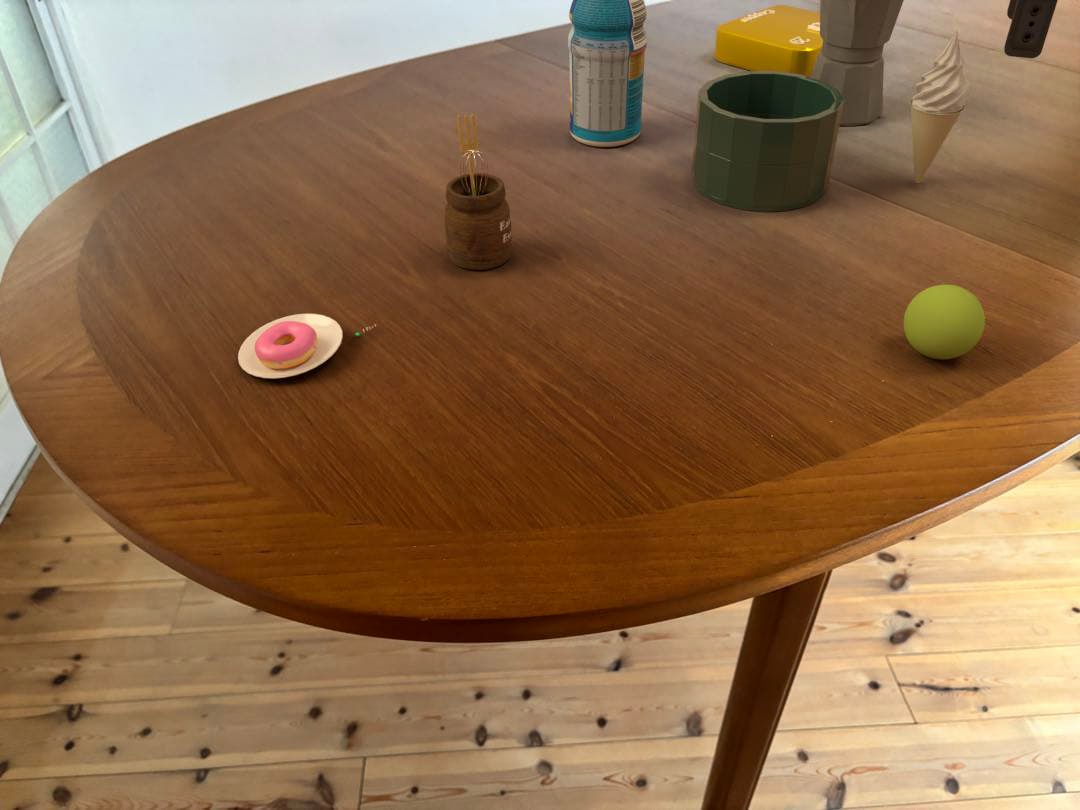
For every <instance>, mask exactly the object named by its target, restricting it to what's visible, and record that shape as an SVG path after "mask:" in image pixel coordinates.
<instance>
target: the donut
mask: <svg viewBox="0 0 1080 810" xmlns="http://www.w3.org/2000/svg"><path fill="white" fill-rule="evenodd" d="M374 327H377V324H376V323H374V326H373V325H372V326H368V327H365V328H366V331H367V332H369V330H371V331H372V329H374ZM362 331H363V334H364V333H366V331H365V329H364V328H363V329H362ZM343 334H344V333H343V329H342V326H341V325H340V324H339V323H338V322H337V321H336V320H335V319H333V318H332V317H329V316H327V315H323V314H318V313H298V314H293V315H292V314H291V315H287V316H284V317H281V318H277V319H274V320H272V321H270V322H267V323H266V324H264V325H262V326H261V327H258V328H257V329H256V330H254V331H253V332H252V333H251V334H250V335H249V336H248V337H246V338H245V340H244V341H243V342H242V344H241V345H240V347H239V350H238V354H237V361H238V365H239V366H240V368H241V369H242V370H243V371H245V372H246V373H247V374H249V375H251V376H254V377H257V378H262V379H273V380H274V379H284V378H289V377H295V376H298V375H301V374H304V373H307V372H309V371H311V370H314V369H315V368H317V367H319V366H321V365H322V364H323V363H325V362H327V360H329V359H330V358H332V357H333V355H334V354H335V353H337V351H338V349H339V347H340V346H341V345H342V342H343ZM354 335H355V337H360V333H359V332H355V334H354Z"/></svg>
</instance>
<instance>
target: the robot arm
mask: <svg viewBox="0 0 1080 810" xmlns="http://www.w3.org/2000/svg"><path fill="white" fill-rule="evenodd" d="M1058 1H1059V0H1009V3H1008V6H1007V10H1006V15H1007V18H1008V19H1010V20H1011V22H1010V25H1009V27H1008V31H1007V32H1008V33H1007V35H1006V39H1005V42H1004V46H1003V47H1004V49H1003V50H1004V51H1003V52H1004V54H1005V55H1006V56H1008V57H1013V58H1014V57H1015V58H1022V59H1023V58H1024V59H1035V58H1038V57H1039V56H1040V55H1041V54H1042V52H1043V49H1044V45H1045V43H1046V39H1047V36H1048V33H1049V31H1050V28H1051V27H1050V26H1051V23H1052V21H1053V18H1054V14H1055V11H1056V8H1057V4H1058Z"/></svg>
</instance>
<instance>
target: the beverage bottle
mask: <svg viewBox="0 0 1080 810" xmlns="http://www.w3.org/2000/svg"><path fill="white" fill-rule="evenodd" d="M647 12H648V11H647V7H646V3H645V0H572V1H571V5H570V8H569V13H568V19H569V21H570V22H571V29H570V30H569V33H568V36H567V37H568V38H567V47H568V51H569V52H568V53H569V133H570V135H571V137H572V138H573V139H575V141H577V142H579V143H581V144H584V145H587V146H591V147H599V148H612V147H619V146H624V145H627V144H629V143H632V142H634V141H635V140H637V139H638V138H639V137H640V135H641V132H642V109H643V92H644V91H643V90H644V74H645V73H644V70H645V54H646V49H647V44H648V40H647V39H648V37H647V32H646V29H645V28H644V23H645V22H646V19H647V17H648V13H647Z"/></svg>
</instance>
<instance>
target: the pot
mask: <svg viewBox="0 0 1080 810" xmlns="http://www.w3.org/2000/svg"><path fill="white" fill-rule="evenodd" d="M843 103H844V100H843V98H842V96H841V94H840V92H839V90H837V89H836V88H834V87H832V86H831V85H829V84H827V83H826V82H824V81H821V80H818V79H814V78H811V77H807V76H804V75H800V74H793V73H785V72H778V71H749V70H747V71H741V72H735V73H727V74H724V75H721V76H718V77H715V78H713V79H710V80H708V81H706V82H705V83H704V84H703V85H702V86H701V87H700V88H699V89H698V93H697V105H696V116H695V117H696V118H695V130H694V141H693V152H692V153H693V154H692V164H691V165H692V167H691V173H692V175H691V176H692V178H691V182H692V184H693V187H694V188H695V189H696V190H697V191H698V193H699V194H701V195H702V196H703V197H705V198H707V199H708V200H710V201H713V202H715V203H717V204H720V205H722V206H726V207H729V208H733V209H737V210H744V211H750V212H767V213H768V212H785V211H792V210H796V209H801V208H804V207H807V206H810V205H812V204H814V203H815V202H817V201H819V200H820V199H821V198H822V197H824V195H825V194H826V191H827V188H828V185H829V184H830V178H831V173H832V168H833V162H834V157H835V151H836V146H837V142H838V141H837V140H838V135H839V130H840V126H839V125H840V120H841V114H842V109H843Z"/></svg>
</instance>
